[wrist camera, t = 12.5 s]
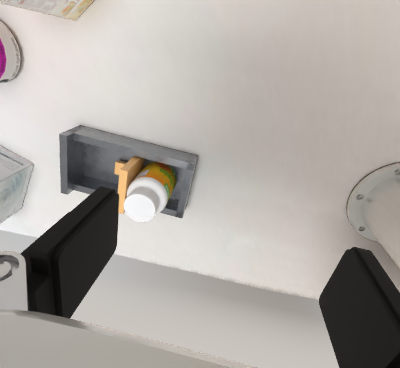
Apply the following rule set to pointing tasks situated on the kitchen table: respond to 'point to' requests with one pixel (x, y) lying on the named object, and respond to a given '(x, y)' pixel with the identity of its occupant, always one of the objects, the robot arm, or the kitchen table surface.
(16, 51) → the supplement can
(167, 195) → the supplement bottle
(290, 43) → the kitchen table surface
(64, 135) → the grey rectangular tray
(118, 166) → the block
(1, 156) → the skincare box
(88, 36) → the kitchen table surface
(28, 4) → the coffeecake box
